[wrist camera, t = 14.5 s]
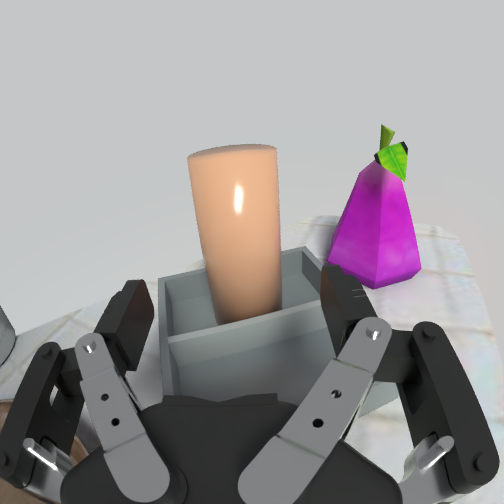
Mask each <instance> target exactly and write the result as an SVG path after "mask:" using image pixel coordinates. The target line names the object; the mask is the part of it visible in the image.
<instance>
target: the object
mask: <svg viewBox="0 0 504 504" xmlns="http://www.w3.org/2000/svg"><path fill="white" fill-rule="evenodd" d="M13 400H14V399H5V400H0V433H1V430H2V428H3V425H4V422H5V420H6V417H7V415H8V412H9V410H10V407H11V405H12V402H13ZM88 455H89V453H88V452H87V450H86V448H85V447H84V445H83V444H82V442H81V441H80V440H79V438H78V437H77V436H76V434H75V437H74V440H73V444H72V448H71V452H70V457H69V458H70V460H71V462H72V468H73V467H74V466H76V465H77V464H78V463H79V462H80V461H82V460H83V459H84V458H85V457H87V456H88ZM0 504H46V503H44V502H42V501H40V500H38V499H36V498H33V497H31V496H29V495H27V494H25V493H24V492H22V491H20V490H18V489H17V488H15V487H13V486H12V485H11V484H10V483H8V482H7V481H5V480H3V479H2V478H0ZM55 504H57V503H55Z"/></svg>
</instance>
